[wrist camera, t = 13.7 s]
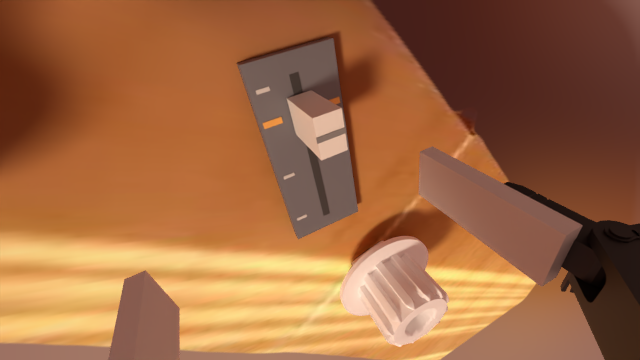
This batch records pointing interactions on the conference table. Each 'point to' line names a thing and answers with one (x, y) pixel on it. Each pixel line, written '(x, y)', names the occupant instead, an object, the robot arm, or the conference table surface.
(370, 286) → the ribbed cylinder on disc
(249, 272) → the conference table surface
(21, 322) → the conference table surface
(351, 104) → the conference table surface
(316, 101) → the fader tab
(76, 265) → the conference table surface
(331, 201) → the fader console
